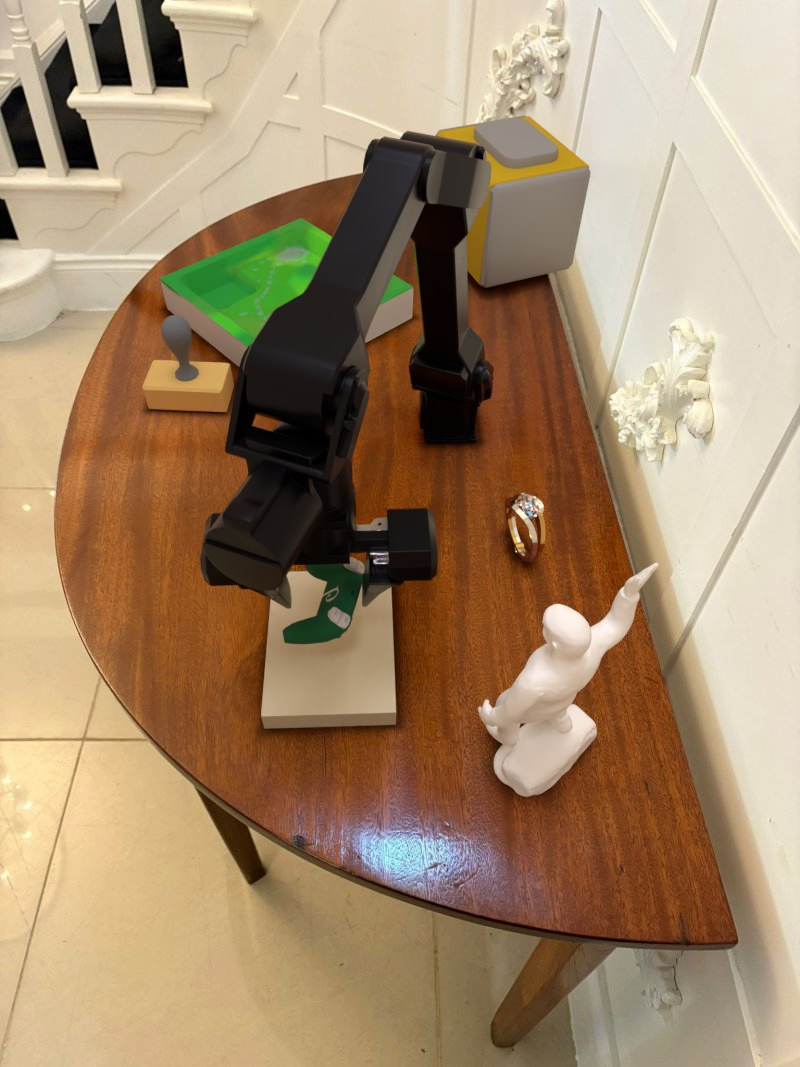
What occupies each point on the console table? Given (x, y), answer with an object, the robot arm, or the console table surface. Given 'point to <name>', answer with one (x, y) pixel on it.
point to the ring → (526, 514)
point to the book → (329, 665)
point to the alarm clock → (524, 201)
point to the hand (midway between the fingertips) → (327, 603)
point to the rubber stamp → (186, 376)
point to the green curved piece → (330, 604)
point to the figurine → (555, 694)
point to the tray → (262, 287)
